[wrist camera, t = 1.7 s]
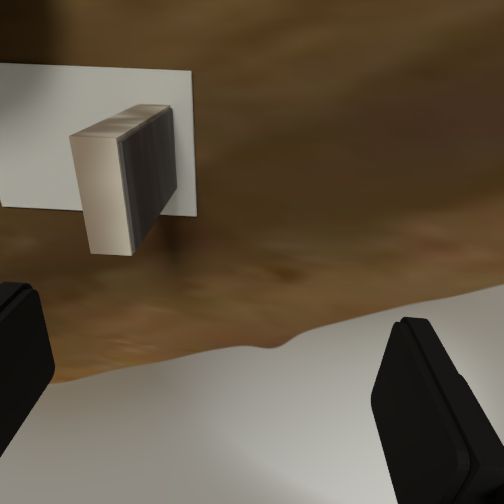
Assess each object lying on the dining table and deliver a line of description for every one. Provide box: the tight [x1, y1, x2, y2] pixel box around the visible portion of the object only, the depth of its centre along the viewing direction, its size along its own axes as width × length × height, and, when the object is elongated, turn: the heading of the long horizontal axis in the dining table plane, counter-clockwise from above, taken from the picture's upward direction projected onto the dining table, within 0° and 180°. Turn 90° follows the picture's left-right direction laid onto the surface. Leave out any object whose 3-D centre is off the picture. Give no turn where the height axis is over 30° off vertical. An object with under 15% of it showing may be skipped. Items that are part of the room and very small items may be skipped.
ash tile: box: [69, 104, 177, 256], centre depth 27 cm, size 3×7×12 cm, turn 178°
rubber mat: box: [0, 63, 197, 216], centre depth 33 cm, size 18×12×1 cm, turn 88°
